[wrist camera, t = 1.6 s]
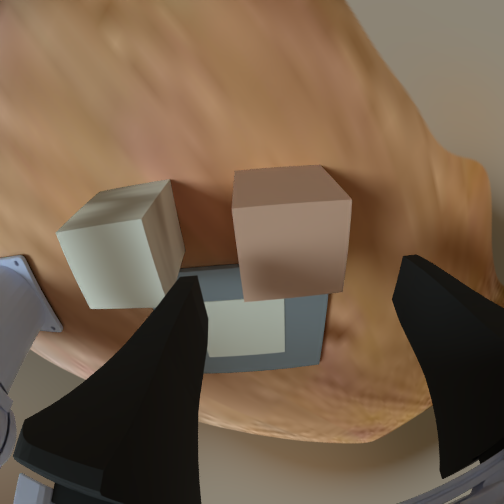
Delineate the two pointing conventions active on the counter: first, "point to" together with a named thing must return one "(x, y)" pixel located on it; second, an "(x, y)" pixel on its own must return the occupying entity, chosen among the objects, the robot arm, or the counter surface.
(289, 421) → the counter surface
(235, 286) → the board
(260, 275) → the block brown
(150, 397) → the robot arm
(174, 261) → the block cream
